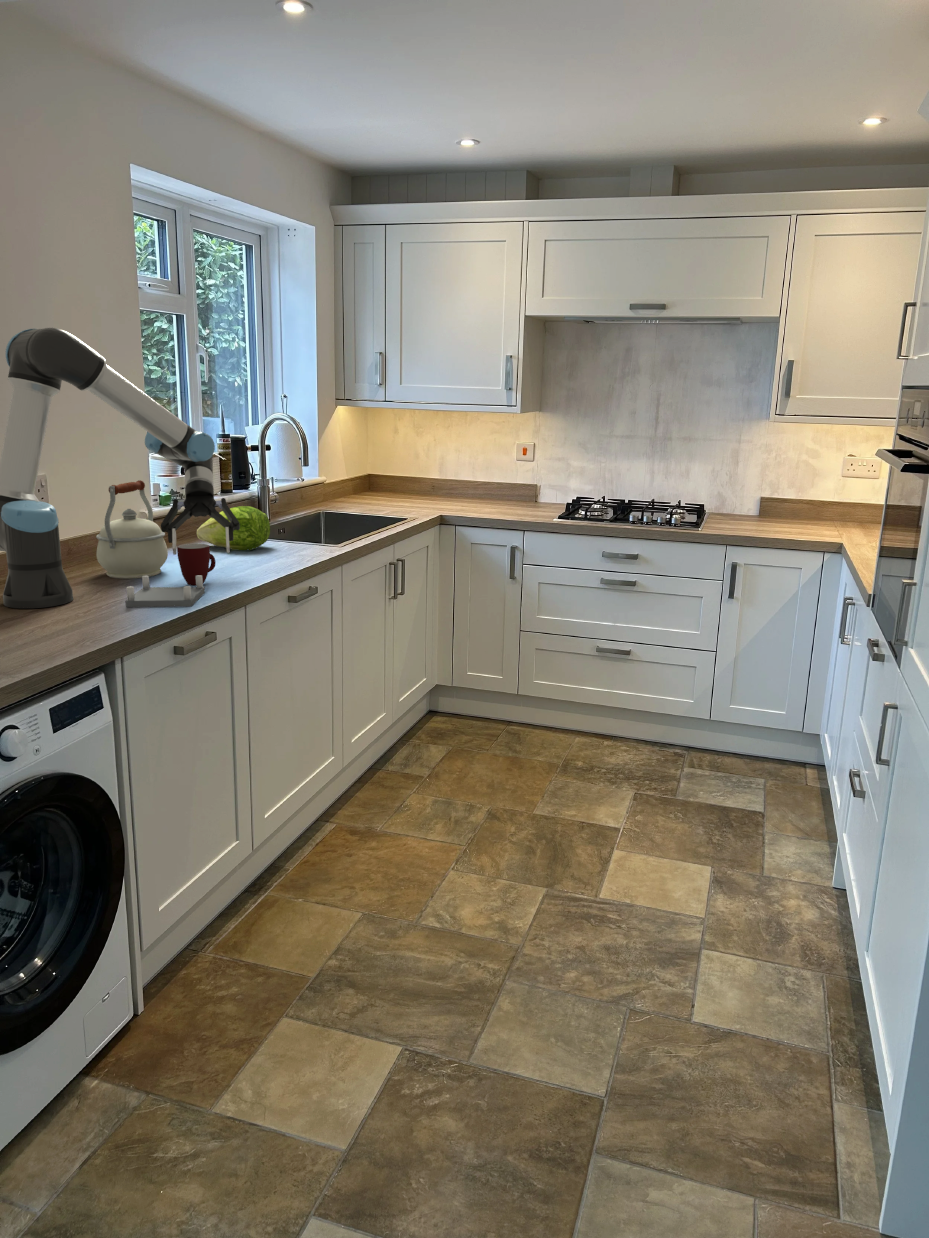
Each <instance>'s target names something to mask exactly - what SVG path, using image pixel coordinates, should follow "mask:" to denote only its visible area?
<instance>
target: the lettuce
mask: <svg viewBox="0 0 929 1238" xmlns="http://www.w3.org/2000/svg"><path fill="white" fill-rule="evenodd" d="M229 508H230V507H229ZM230 510H231V511H232V513H233V514H234V515H235V517H236V518H237V520H238V521H239V523H240V529H239V530H234V531H233V541H229V547H230V550H233V551H246V552H247V551H252V550H255V549H258V548H259V547H261V546H262V545H264V544H265V543H266V542H267V541H268V539H269V537H270V535H271V524H270V523H271V522H270V520H269V517H268V515H267V514H266V513H264V512H263V511H261V510H260V509H258V508H257V507H256V508H255V507H253V506H251V505H250V506H249V505H248V506H247V505H246V506H245V505H244V506H243V505H241V506H235V507H231V508H230ZM219 513H220V514H221V515H222V516H223V517H225V518H226V519H227V520H228V521H229V519H228V518H227V516H226V515H225V514H224V512H223V510H222V511H220V512H219ZM229 522H230V521H229ZM196 537H197V539H199V540H200V541H203V542H206V543H208V544H210V545H213V546H216V547H218V548H219V547H220V548H225V549H227V548H226V529H225V528H224V527H223V526H222V525H221V524H220V523H218V522H217V521H216V520H215V519H214V518H211V517H210V518H208V519H207V520H206V521H205V522H203V523H202V524H201V525H200V526H199V527H198V528H197V529H196Z"/></svg>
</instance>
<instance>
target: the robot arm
mask: <svg viewBox="0 0 929 1238" xmlns="http://www.w3.org/2000/svg"><path fill="white" fill-rule="evenodd" d="M5 360H6V364H7V365H8V367H9V370H8V375H7V380H8V382H9V383H10V385H11V386H12V389H13V390H12V392H11V399H10V404H9V410H8V416H7V421H6V427H5V433H4V439H3V442H2V443H3V444H2V449H1V454H0V551H1V552H5V553H6V554H5V555H6V562H7V576H6V580H5V585H4V589H3V592H2V601H3V605H4V606H5V607H7V608H12V609H41V608H43V609H44V608H51V607H55V606H61V605H65V604H68V603H70V602H72V601H74V591H73V588H72V586H71V584H70V582H69V580H68V577H67V575H66V573H65V571H64V569H63V563H62V553H61V551H62V550H61V541H60V540H61V539H60V530H59V523H60V522H59V518H58V512H57V509H56V507H54V505H52V504H50V503H48V502H45V501H40V500H39V499H38V497H37V496H36V494H35V492H36V491H35V490H36V486H37V479H38V474H39V471H40V470H39V468H40V463H41V458H42V452H43V448H44V447H43V446H44V444H45V443H44V442H45V436H46V432H47V427H48V425H47V424H48V420H49V416H50V415H49V414H50V410H51V409H50V408H51V405H52V398H53V397H55V395H58V394H60V392H61V387H62V382H66V383H68V384H70V385H72V386H74V387H76V388H77V389H78V390H80V391H82V392H84V391H89V392H90V393H91V394H93V395H94V396H95V397H97V398H99V399H100V400H101V401H102V402H104V403H106V404H107V405H108V406H110V407H111V408H112V409H114V410H116V411H117V412H118V413H120V414H122V415H123V416H124V417H126V418H127V419H128V420H130V421H132V422H133V423H134V424H136V425H137V426H138V427H140V428H141V429H143V430H144V431H145V432H146V435H145V437H144V445H145V448H146V449H147V450H150V451H151V452H152V453H154V455H158V456H160V457H161V458H164V459H166V460H168V461H170V462H172V463H174V464H176V465H178V466H181V467H182V468H184V470H183V471H184V486H185V487H184V491H185V492H184V495H185V498H184V501H179V500H178V499H177V498H175V499H173V501H172V506H170V509H169V510H168V512H167V514H166V515H165V517H164V519H163V520H162V522H161V523H160V529H161V531H162V532H164V533H167V541H168V543H171V544H172V554H173V556H174V555H177V530H178V529H179V528H180V527H181V526H183V524H184V523H185V522H186V521H187V520H189V519H191V518H192V517H195V518H196V517H197V518H199V517H207V516H209V517H210V518H214V519H215V520H216V521H217V522H218V523H220V524H221V525H222V526H223V527H224V528H225V529H226V548H225V549H226V554H227V553H231V552H230V550H231V549H230V547H229V541H233V531H234V530H239V529H240V523H239V521H238V520H237V518H236V517H235V515H234V514H233V513H232V511H231V510H230V507H229V506H228V504H227V499H226V498H225V497H222V498H220V500H215V489H214V470H213V469H214V468H213V467H214V466H213V456H214V453H215V449H216V448H215V447H216V445H215V442H214V440H213V437H212V436H210V435H209V434H208V433H206V432H203V431H197V430H196V429H194V428H193V427H192V426H190V425H189V424H188V423H185V422H184V421H183V420H181V419H180V418H179V417H178V416H176V415H175V414H174V413H172V412H171V411H169V410H168V409H167V408H165V407H164V406H163V405H162V404H160V403H159V402H158V401H156V400H155V399H153V398H152V397H150V396H149V395H148V394H147V393H145V392H144V391H143V390H142V389H140V388H138V387H137V386H136V385H135V384H133V383H131V382H130V381H129V380H128V379H126V377H124V376H122V375H121V374H120V373H118V372H117V371H115V370H114V369H113V368H112V367H110V366H109V365H107V361H106V358H105V357H104V356H103V355H101V354H100V353H98V351H96V350H95V349H93V348H92V347H90V346H89V345H88V344H86V343H85V342H84V341H82V340H81V339H80V338H78V337H77V336H75V335H73V334H71V333H70V332H69V331H66V330H63V329H61V328H58V327H45V328H27V329H24V330H21V331H20V332H18V333H16V334H15V335H13V336H12V337H11V338H10V339H9V341H8V343H7V345H6V348H5ZM216 507H218V508H219V509H221V510H222V511H223V512H224V514H225V515H226V516H227V518H228V519H229V521H230V522H229V521H228V520H227V519H226V518H225V517H223V516H222V515H221V514H220V512H219V511H217V509H216ZM182 508H184V509H183V511H182V512H181V513H180V514H179V515H178V516H176V515H177V514H178V512H179V511H180V510H181V509H182ZM175 517H176V518H175Z"/></svg>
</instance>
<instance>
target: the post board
mask: <svg viewBox="0 0 929 1238" xmlns="http://www.w3.org/2000/svg"><path fill="white" fill-rule="evenodd" d="M141 579H142V580H141V582H142V583H141V584H142V588H140V589H139V590H138V591H136V592H135V586H127V587H126V596H127V598H126V600H125V607H126V608H157V607H158V608H161V607H162V608H165V607H166V608H168V607H169V608H171V607H174V608H175V607H176V608H177V607H183V608H184V607H192V606H194V605H195V603H197V601H199V600H200V598H202V596H204V595H205V594H206V590H205V589H206V588H205V586H204V584H203V579H202V575H197V576H196V585H195V586H191V585H184V586H176V587H175V586H169V587H167V586H166V587H165V586H164V587H163V586H160V587H159V586H157V587H156V586H155V587H153V586H152V587H151V586H150V577H149V576H142V578H141Z"/></svg>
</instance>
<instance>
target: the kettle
mask: <svg viewBox="0 0 929 1238" xmlns="http://www.w3.org/2000/svg"><path fill="white" fill-rule="evenodd" d="M145 488H146V484H145V482H144V480H140V479H139V480H137V481H130V482H124V483H119V484H117V485H116V484H111V485H109V486H108V492H109V496H110V497H109V499H110V500H109V504H108V507H107V510H106V512H105V516H104V525H103V526H102V527H101V529H100V531H99V534H97V535H96V536H95V537H96V539H97V540H98V543H97V546H96V547H97V548H96V560H97V562H98V563H99V565H100V566H101V567H102V568H103V569H104V570H105V571H106V575H107V576H108V577H109V578H112V579H113V578H114V579H126V580H128V579H142V576H149V578H151V577H154V576H157V575H159V574H160V573H161V572H162V569H161V568H162V567H163V565H164V564H165V563H166V561H167V559H168V554H169V552H168V547H167V544H166V541H165V538H164V537H165V536H166V532H162V531H161V526H159V525H158V524H157V522H154V511H153V507H152V506H151V504H150V502H149V500H148V498H147V496H146V493H145ZM135 491H138V492H139V495H140V498H141V500H142V502H143V504H144V506H145V507H146V509H147V516H148V517H147V519H146V518H140V517H137V515H138V513H137V512H136V511H135V510H133V509H131V508H127V509H125V510H124V511H123V512H122V513H121V516H122V517H123V518H119V519H114V520H111V516H112V513H113V510H114V507H115V505H116V504H115V503H116V495H118V494H125V493H127V494H128V493H132V492H135Z"/></svg>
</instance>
